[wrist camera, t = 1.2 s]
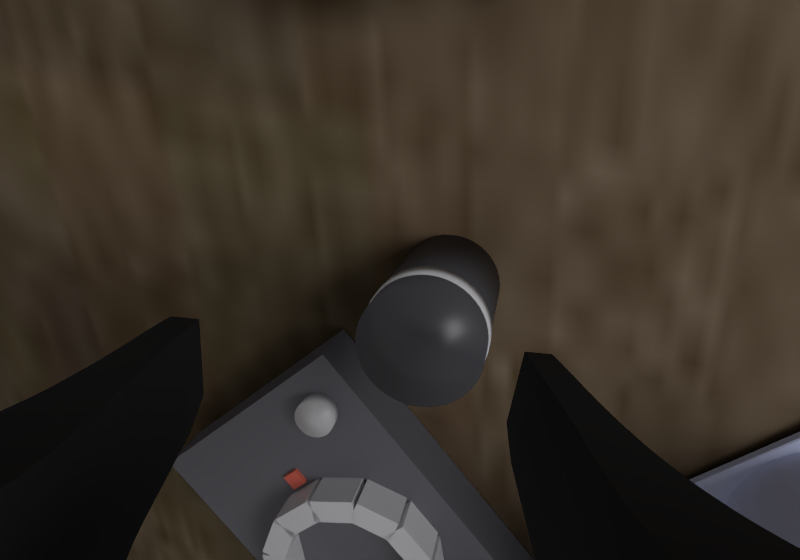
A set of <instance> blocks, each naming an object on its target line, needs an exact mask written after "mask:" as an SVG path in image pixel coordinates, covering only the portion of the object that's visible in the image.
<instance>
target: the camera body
mask: <svg viewBox="0 0 800 560" xmlns="http://www.w3.org/2000/svg"><path fill="white" fill-rule="evenodd" d="M173 467H174V468H175V469H176V471H177V472H178V473H179V474H180V475H181V476H182V477H183V478H184V479H185V481H186V482H187V483H188V484H189V485H190V486H191V487H192V488H193V489H194V491H195V492H196V493H197V494H198V495H199V496H200V497H201V498H202V499H203V500H204V502H205V503H206V504H207V505H208V506H209V507H210V508H211V509H212V510H213V512H214V513H215V514H216V515H217V516H218V517H219V518H220V519H221V520H222V522H223V523H224V524H225V525H226V526H227V527H228V528H229V529H230V530H231V532H232V533H233V534H234V535H235V536H236V537H237V538H238V539H239V540H240V541H241V543H242V544H243V545H244V546H245V547H246V548H247V549H248V550H249V551H250V553H251V554H252V555H253V556H254V557H255V558H256V559H257V560H534V559H533V558H532V557H531V556H530V555H529V553H528V552H527V551H526V550H525V548H524V547H523V546H522V545H521V544H520V542H519V541H518V540H517V539H516V538H515V536H514V535H513V534H512V533H511V532H510V530H509V529H508V528H507V527H506V525H505V524H504V523H503V522H502V521H501V519H500V518H499V517H498V516H497V515H496V513H495V512H494V511H493V510H492V508H491V507H490V506H489V505H488V504H487V502H486V501H485V500H484V499H483V498H482V496H481V495H480V494H479V493H478V491H477V490H476V489H475V488H474V487H473V485H472V484H471V483H470V482H469V481H468V479H467V478H466V477H465V476H464V475H463V473H462V472H461V471H460V470H459V468H458V467H457V466H456V465H455V464H454V462H453V461H452V460H451V459H450V458H449V456H448V455H447V454H446V453H445V451H444V450H443V449H442V448H441V447H440V445H439V444H438V443H437V442H436V441H435V439H434V438H433V437H432V436H431V434H430V433H429V432H428V431H427V430H426V428H425V427H424V426H423V425H422V424H421V422H420V421H419V420H418V419H417V417H416V416H415V415H414V414H413V413H412V411H411V410H410V409H409V408H408V407H407V405H406V404H405V403H402V402H400V401H397V400H395V399H393V398H391V397H389V396H388V395H386V394H385V393H383V392H382V391H381V390H380V389H378V388H377V387H376V386H375V385H374V384H373V383H372V382H371V381H370V379H369V378H368V377H367V375H366V374H365V372H364V370H363V369H362V367H361V364H360V362H359V360H358V356H357V352H356V346H355V342H354V341H353V340H352V339H351V337H350V336H349V335H348V334H347V333H346V331H345V330H344V329H343V330H341V331H340V332H338V333H337V334H336V335H334V336H333V337H331V338H330V339H329V340H327V341H326V342H324V343H323V344H322V345H320V346H319V347H317V348H316V349H315V350H313V351H312V352H311V353H309V354H308V355H306V356H305V357H304V358H302V359H301V360H299V361H298V362H297V363H295V364H294V365H292V366H291V367H290V368H288V369H287V370H285V371H284V372H283V373H281V374H280V375H278V376H277V377H276V378H274V379H273V380H271V381H270V382H269V383H267V384H266V385H265V386H263V387H262V388H260V389H259V390H258V391H256V392H255V393H253V394H252V395H251V396H249V397H248V398H246V399H245V400H244V401H242V402H241V403H239V404H238V405H237V406H235V407H234V408H232V409H231V410H230V411H228V412H227V413H225V414H224V415H223V416H221V417H220V418H219V419H217V420H216V421H214V422H213V423H212V424H210V425H209V426H207V427H206V428H205V429H203V430H202V431H200V432H199V433H198V434H197V435H196V436H195V437H194V438H193V439H192V440H191V441H190V442H189V444H188V445H187V446H186V447H185V448H184V449H183V450H182V451H181V452H180V453H179V455H178V457H177V459H176V461H175V463H174V464H173Z"/></svg>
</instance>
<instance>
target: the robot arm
mask: <svg viewBox="0 0 800 560" xmlns="http://www.w3.org/2000/svg"><path fill="white" fill-rule="evenodd" d="M203 394H204V391H203V375H202V360H201V344H200V328H199V319H191V318H181V317H169V318H167V319H165V320H164V321H162V322H160V323H159V324H157V325H155V326H154V327H152V328H150V329H149V330H147V331H146V332H144V333H142V334H141V335H139V336H138V337H136V338H135V339H133V340H131V341H130V342H128V343H127V344H125V345H123V346H122V347H120V348H118V349H117V350H115V351H114V352H112V353H110V354H109V355H107V356H105V357H104V358H102V359H101V360H99V361H97V362H96V363H94V364H92V365H90V366H88V367H87V368H85V369H83V370H81V371H79V372H78V373H76V374H74V375H72V376H70V377H69V378H67V379H65V380H63V381H61V382H60V383H58V384H56V385H54V386H52V387H50V388H48V389H46V390H45V391H43V392H41V393H39V394H36V395H34V396H32V397H30V398H28V399H26V400H24V401H22V402H20V403H17V404H15V405H13V406H11V407H9V408H6V409H4V410H2V411H0V560H126V559H127V556H128V554H129V552H130V549H131V547H132V544H133V542H134V540H135V538H136V536H137V534H138V531H139V529H140V527H141V525H142V523H143V521H144V519H145V517H146V515H147V514H148V512H149V510H150V508H151V506H152V504H153V502H154V500H155V498H156V497H157V495H158V493H159V491H160V489H161V487H162V485H163V483H164V481H165V480H166V478H167V476H168V474H169V472H170V470H171V468H172V466H173V464H174V463H175V461H176V459H177V457H178V455H179V453H180V451H181V449H182V447H183V445H184V443H185V441H186V439H187V437H188V435H189V433H190V431H191V428H192V425H193V423H194V420H195V417H196V415H197V412H198V409H199V406H200V403H201V400H202V397H203ZM507 430H508V440H509V448H510V456H511V464H512V468H513V472H514V476H515V480H516V484H517V488H518V492H519V496H520V500H521V504H522V508H523V512H524V516H525V520H526V524H527V528H528V531H529V535H530V539H531V543H532V547H533V551H534V555H535V559H536V560H800V432H798V433H795V434H793V435H791V436H788V437H786V438H784V439H781V440H779V441H777V442H775V443H772V444H770V445H768V446H765V447H763V448H761V449H758V450H756V451H754V452H752V453H749V454H747V455H745V456H742V457H740V458H738V459H735V460H733V461H731V462H729V463H726V464H724V465H722V466H719V467H717V468H715V469H712V470H710V471H708V472H706V473H703V474H701V475H699V476H696V477H694V478H692V479H687V478H686V477H685V476H683V475H682V474H681V473H680V472H678V471H677V470H676V469H674V468H673V467H672V466H670V465H669V464H668V463H667V462H665V461H664V460H663V459H661V458H660V457H659V456H658V455H656V454H655V453H654V452H653V451H651V450H650V449H649V448H648V447H647V446H645V445H644V444H643V443H642V442H641V441H640V440H639V439H638V438H636V437H635V436H634V435H633V434H632V433H631V432H630V431H629V430H627V429H626V428H625V427H624V426H623V425H622V424H621V423H620V422H619V421H618V420H617V419H616V418H614V417H613V416H612V415H611V414H610V413H609V412H608V411H607V410H606V409H605V408H604V407H603V406H602V405H601V404H600V403H599V402H598V401H597V400H596V399H595V398H594V397H593V396H592V395H591V394H590V393H589V392H588V391H587V390H586V389H585V388H584V387H583V386H582V384H581V383H580V382H579V381H578V380H577V379H576V378H575V377H574V376H573V375H572V374H571V373H570V372H569V371H568V370H567V369H566V368H565V367H564V366H563V365H562V364H561V363H560V362H559V361H558V360H557V359H556V358H555V357H554V356H553V355H552V354H543V353H533V352H525V353H524V357H523V361H522V365H521V369H520V373H519V377H518V380H517V384H516V388H515V392H514V396H513V400H512V404H511V408H510V412H509V416H508V420H507Z"/></svg>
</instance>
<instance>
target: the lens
mask: <svg viewBox="0 0 800 560" xmlns="http://www.w3.org/2000/svg"><path fill="white" fill-rule="evenodd" d="M499 288H500V282H499V275H498V271H497V268H496V266H495V264H494V262H493V260H492V259H491V257H490V256H489V254H488V253H487V252H486V251H485V250H484V249H483V248H482V247H480V246H479V245H478V244H476V243H475V242H473V241H471V240H469V239H466V238H463V237H460V236H455V235H440V236H435V237H431V238H429V239H426V240H424V241H422V242H421V243H419V244H418V245H417V246H415V247H414V248H413V249H412V250H411V251H410V253H409V254H408V255H407V256H406V258H405V259H404V260H403V261H402V263H401V264H400V265H399V267H398V268H397V269H396V270H395V272H394V273H393V274H392V276H391V277H390V278H389V279H388V280H387V281H386V282H385V283H384V284H383V285H382V286H381V287H380V288H379V290H378V291H377V292H376V293H375V295H374V296H373V298H372V299H371V301H370V303H369V305H368V306H367V307H366V309H365V310H364V312H363V313H362V315H361V317H360V319H359V322H358V325H357V328H356V335H355V346H356V352H357V356H358V360H359V362H360V364H361V367H362V369H363V370H364V372H365V374H366V375H367V377H368V378H369V379H370V381H371V382H372V383H373V384H374V385H375V386H376V387H377V388H378V389H380V390H381V391H382V392H383V393H385V394H386V395H388V396H389V397H391V398H393V399H395V400H397V401H400V402H402V403H405V404H409V405H413V406H419V407H434V406H440V405H445V404H448V403H451V402H453V401H455V400H457V399H459V398H461V397H462V396H463V395H465V394H466V393H467V392H468V391H469V390H471V389H472V387H473V386H474V385H475V384H476V382H477V381H478V379H479V377H480V375H481V373H482V370H483V367H484V363H485V360H486V357H487V355H488V351H489V347H490V342H491V337H492V324H493V319H494V314H495V310H496V305H497V300H498V295H499Z"/></svg>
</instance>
